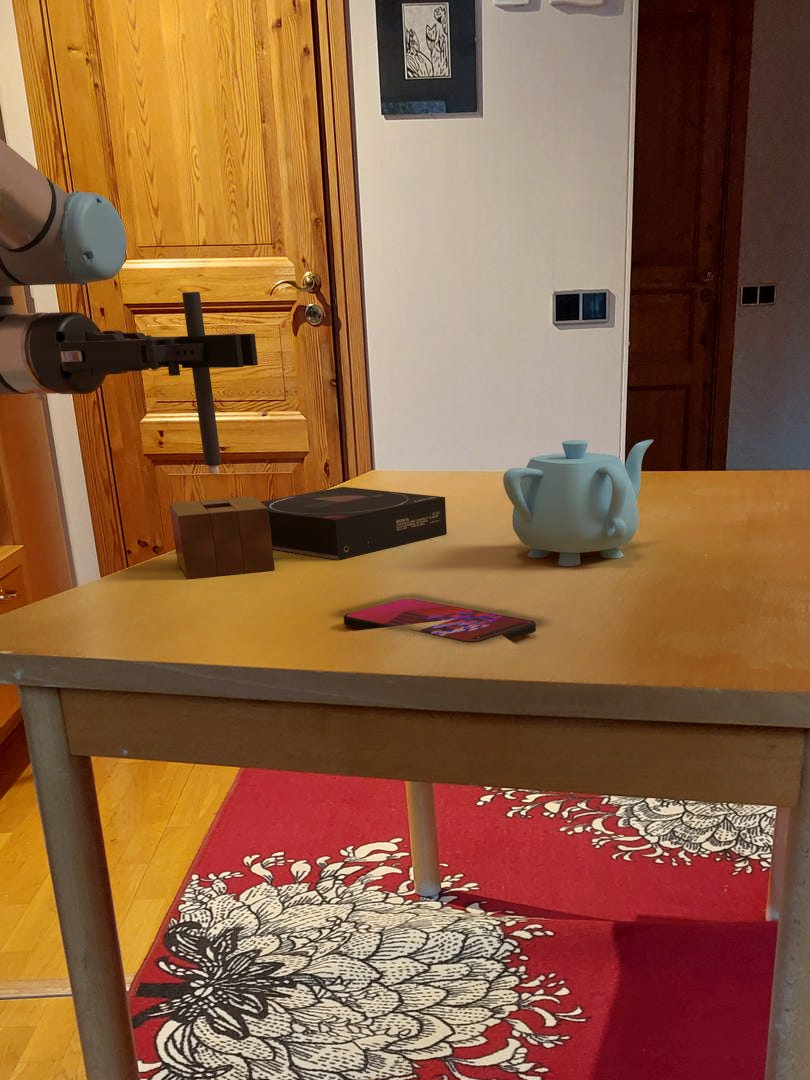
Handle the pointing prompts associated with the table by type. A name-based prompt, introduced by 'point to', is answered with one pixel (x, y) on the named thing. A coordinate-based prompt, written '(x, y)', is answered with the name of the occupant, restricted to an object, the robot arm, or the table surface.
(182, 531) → the pen stand
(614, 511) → the teapot
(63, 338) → the robot arm
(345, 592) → the table surface
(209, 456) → the stylus
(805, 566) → the table surface
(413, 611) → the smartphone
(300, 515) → the portable cd player
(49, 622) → the table surface
